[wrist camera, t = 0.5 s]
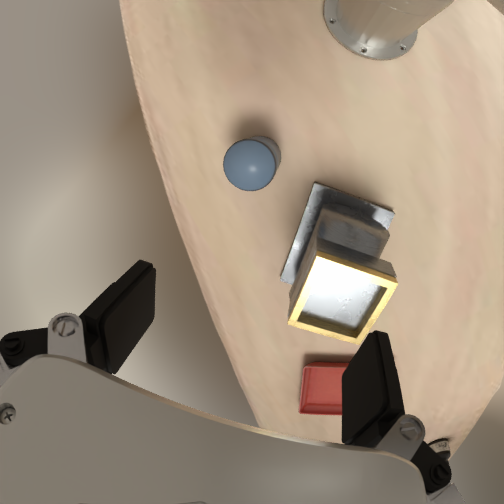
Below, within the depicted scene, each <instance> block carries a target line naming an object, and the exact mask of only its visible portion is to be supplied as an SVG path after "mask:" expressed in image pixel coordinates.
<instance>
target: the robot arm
mask: <svg viewBox="0 0 504 504" xmlns="http://www.w3.org/2000/svg"><path fill="white" fill-rule="evenodd" d="M453 1H454V0H326V1H325V4H324V18H325V22H326V25H327V27H328V29H329V31H330V32H331V34H332V35H333V37H334V38H335V39H336V40H337V41H338V42H339V43H340V44H341V45H342V46H344V47H345V48H346V49H348V50H349V51H351V52H353V53H355V54H357V55H359V56H362V57H364V58H368V59H372V60H391V59H394V58H398V57H400V56H402V55H404V54H405V53H407V52H408V51H409V50H410V49H411V48H412V46H413V45H414V43H415V41H416V38H417V33H418V28H419V27H421V26H422V25H423V24H425V23H426V22H427V21H429V20H430V19H432V18H433V17H434V16H436V15H437V14H438V13H440V12H441V11H443V10H444V9H445V8H447V7H448V6H449V5H450V4H451V3H452V2H453ZM487 1H488V2H489V3H490V4H492V5H493V6H494V7H495V8H496V9H497V10H499V11H500V12H501V13H502V14H503V15H504V0H487ZM331 21H332V22H334V23H333V24H331V23H330V22H331ZM400 47H402V48H403V50H401V49H400ZM361 50H364V51H365V53H362V52H361ZM155 281H156V269H155V268H153V265H152V263H149V262H146V261H143V260H139V261H137V262H136V263H135V264H134V265H133V266H132V267H131V268H130V269H129V270H128V271H127V272H126V273H125V274H124V275H122V276H121V277H120V278H119V279H118V280H117V281H116V282H114V283H112V284H111V285H110V286H109V287H108V288H107V289H106V290H105V291H104V292H103V293H102V294H101V295H100V296H99V297H98V298H97V299H96V300H95V301H94V302H93V303H92V304H91V305H90V306H89V307H88V308H87V309H86V310H85V311H84V312H83V313H82V314H81V315H80V316H79V317H78V316H76V315H75V314H72V313H61V314H58V315H56V316H55V317H54V318H52V319H51V321H50V322H49V326H48V328H41V329H33V330H26V331H17V332H12V333H8V334H7V335H5V336H4V337H3V338H2V339H1V341H0V504H466V503H465V501H464V500H463V498H462V496H461V494H460V493H459V491H458V489H457V487H456V486H455V484H454V483H452V484H451V483H450V480H451V475H452V474H451V469H450V466H449V465H448V463H447V462H446V461H445V460H444V459H443V458H441V457H440V456H439V455H438V454H437V453H436V452H435V451H434V450H433V449H432V448H431V447H430V446H429V445H428V444H427V443H426V442H424V441H423V439H424V437H425V428H424V425H423V423H422V422H421V421H420V420H419V418H417V417H415V416H413V415H410V414H406V415H405V410H404V405H403V399H402V393H401V388H400V383H399V378H398V373H397V369H396V366H395V362H394V357H393V353H392V349H391V344H390V340H389V336H388V334H387V333H385V332H381V331H377V330H375V331H373V333H369V334H368V335H367V337H366V339H365V340H364V342H363V343H362V345H361V347H360V348H359V350H358V351H357V353H356V354H355V356H354V357H353V359H352V360H351V362H350V363H349V365H348V366H347V368H346V369H345V371H344V372H343V374H342V443H345V444H338V443H331V442H325V441H319V440H313V439H307V438H301V437H296V436H291V435H286V434H282V433H277V432H273V431H269V430H264V429H260V428H256V427H252V426H249V425H245V424H241V423H238V422H234V421H231V420H227V419H224V418H221V417H218V416H214V415H211V414H208V413H205V412H202V411H199V410H196V409H194V408H191V407H188V406H185V405H182V404H180V403H177V402H174V401H172V400H169V399H167V398H164V397H161V396H159V395H157V394H154V393H152V392H150V391H147V390H145V389H143V388H140V387H138V386H136V385H134V384H131V383H129V382H127V381H125V380H122V379H120V378H118V377H116V376H114V375H112V373H113V374H116V373H117V372H118V370H119V368H120V367H121V366H122V364H123V363H124V362H125V360H126V359H127V357H128V356H129V354H130V353H131V351H132V350H133V349H134V347H135V346H136V344H137V343H138V341H139V340H140V339H141V337H142V336H143V334H144V333H145V332H146V330H147V329H148V327H149V326H150V325H151V323H152V322H153V319H154V314H155Z"/></svg>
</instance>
